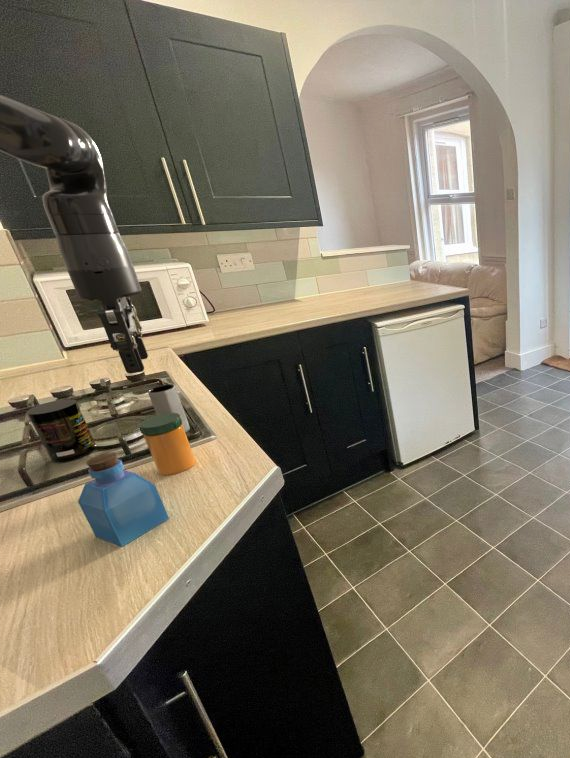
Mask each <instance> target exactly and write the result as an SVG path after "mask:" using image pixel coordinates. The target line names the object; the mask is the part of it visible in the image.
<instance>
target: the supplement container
mask: <svg viewBox="0 0 570 758" xmlns="http://www.w3.org/2000/svg"><path fill="white" fill-rule="evenodd" d="M78 403H79V402H78V401H77V400H76V399H70V398H69V399H68V398H67V399H60V400H54V401H50V402H45V403H43V404H39V405H37V406H34V407H32V408H29V409H28V410H27V411H26V415H27V417H28V419H29V422H31V424H32V426H33V428H34V430H35V432H36V434H37V436H38V439H39V440H40V442H41V444H42V446H43V448H44V450H45V451H46V454H47V456H48V457H49V460H51V461H53V462H56V463H63V462H70V461H75V460H77V459H80V458H83V457H86V456H87V455H89V454H91V453H93V452H94V451H95V450H96V449H97V443H96V442H95V439H94V437H93V435H92V432H91V430H90V428H89V425H88V423H87V422H86V419H85V418H84V414H83V413H82V411H81V408H80V406H79V404H78Z"/></svg>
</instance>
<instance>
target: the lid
mask: <svg viewBox="0 0 570 758" xmlns="http://www.w3.org/2000/svg"><path fill="white" fill-rule="evenodd" d="M181 425H182V419H181V416H180V415H179V414H177V413H167V414H161V415H153V416H150V417H148V418H146V419H143V420H142V421H141V422H139V424H138V428H139V431H140V434H141V435H157V434H162V433H166V432H169V431H172V430H174V429H176V428H178V427H179V426H181Z"/></svg>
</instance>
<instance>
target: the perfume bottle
mask: <svg viewBox="0 0 570 758" xmlns="http://www.w3.org/2000/svg"><path fill="white" fill-rule="evenodd" d="M85 464H86V465H87V466H88V468H89V469H88V470H87V471H88V474H89V475H90V476H89V477H91V479H93V480H91V481H88V482H86V483H84V486H83V487H82V491H81V493H80V496H79V497H78V501H77V503H78V505H79V507H80V509H81V511H82V513H83V515H84V517H85V519H86V521H87V523H88V525H89V527H90V528H91V530H92V532H93V535H94V537H95V538H98V539H100V540H104V541H106V542H108V543H111V544H113V545H117V546H120V547H123V548H124V547H125V546H126V545H128V544H130V543H132V542H133V541H134V540H136V539H138V538H140V537H141V536H143V535H145V534H146V533H148V532H149V531H151V530H153V529H155V528H156V527H158V526H159V525H161V524H163V523H164V522H166V521H167V520H169V519H170V517H169V515H168V513H167V512H168V511H167V510H166V508H165V507H166V506H165V504H164V503H163V500H162V498H161V495H160V493H159V491H158V488H157V485H156V484H155V483H153V482H151V481H150V480H148V479H146V478H145V477H143V476H141V475H139V474H138V473H136V472H132V471H129V470H126V469H124V467H125V466H124V464H123V461H122V459H119V458H118V454H117V452H113V451H110V452H105V453H101V454H97V455H94V456H92V457H91V458H89V459H87V460H86V462H85Z"/></svg>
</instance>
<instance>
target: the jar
mask: <svg viewBox="0 0 570 758" xmlns="http://www.w3.org/2000/svg"><path fill="white" fill-rule="evenodd" d="M142 435H143V434H142ZM143 438H144V440H145V443H146V445H147V449H148V450H149V453H150V455H151V458H152V460H153V463H154V465H155V467H156V470H157V473H158V474H159V475H161V476H171V475H176V474H180V473H182V472H184V471H187V470H189V469H190V468H192V467H193V466H194V465H195V464H196V461H197V460H196V458H195V455H194V452H193V450H192V447H191V444H190V441H189V438H188V436H187V432H185V430H184V427H183V425H181V426H179V427H178V428H176V429H174V430H172V431H169V432H166V433H162V434H157V435H143Z"/></svg>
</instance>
